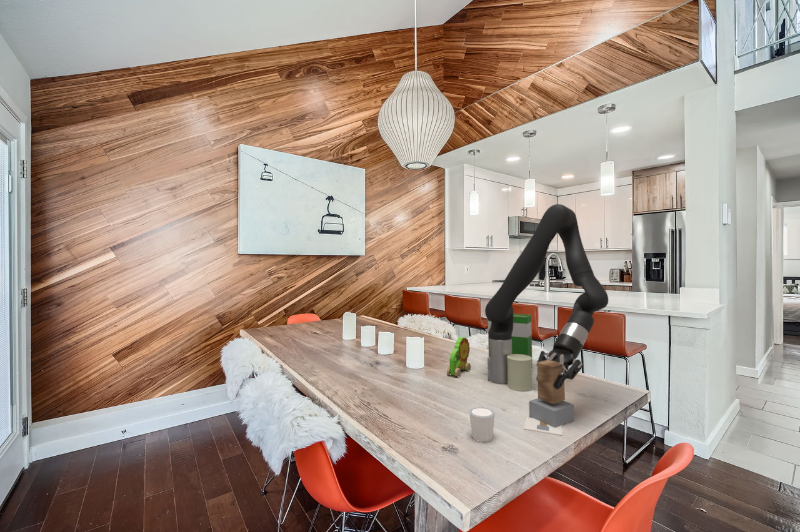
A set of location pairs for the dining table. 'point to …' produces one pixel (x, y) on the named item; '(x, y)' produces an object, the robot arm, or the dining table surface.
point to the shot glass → (482, 423)
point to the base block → (551, 412)
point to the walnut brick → (549, 381)
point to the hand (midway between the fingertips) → (547, 384)
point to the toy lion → (459, 357)
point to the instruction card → (541, 427)
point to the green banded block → (520, 334)
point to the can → (519, 372)
